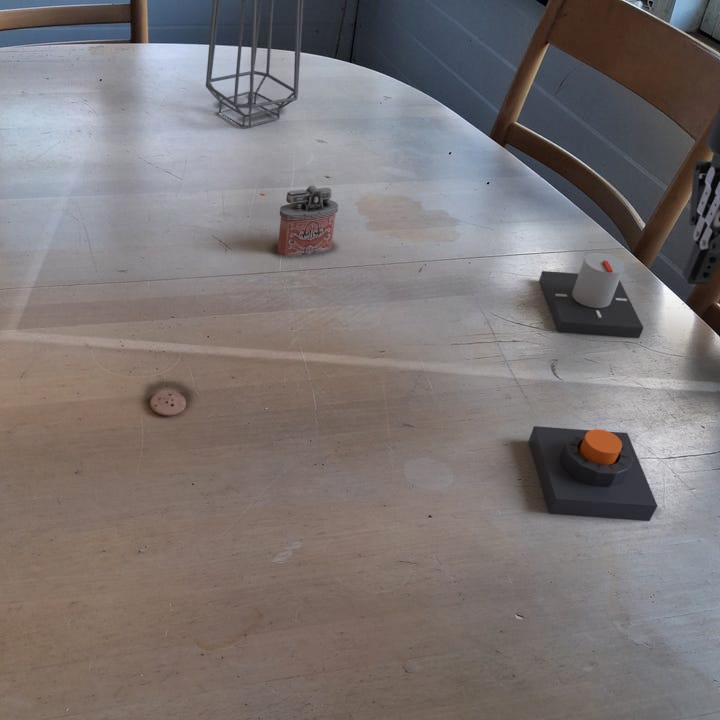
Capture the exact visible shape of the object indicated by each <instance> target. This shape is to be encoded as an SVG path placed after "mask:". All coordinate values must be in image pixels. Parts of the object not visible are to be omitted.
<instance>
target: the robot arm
mask: <svg viewBox="0 0 720 720" xmlns="http://www.w3.org/2000/svg"><path fill="white" fill-rule="evenodd" d="M706 146H707V147H708V149H709V151H711V153H712V157H711V159H710V160H696V162H695V163H694V165H693V172H692V183H691V184H692V185H691V195H690V210H689V226H692V227H693V226H694V227H695V228H694V231H693V235H692V238H693V240H694V241H695V242H694V244H693V246H692V248H691V252H690V254H689V256H688V259H687V261H686V263H685V265H684V268H683V271H682V276H683V277H684V279H685V280H686V282H687V284H689V285H696V286H697V285H698V286H700V285H701V286H704V285H705V286H706V285H708V284H709V283H710V282H711V281H712V279H713V278H714V277H713V276H714V274H715V272H716V269H717V268H718V266H719V263H720V105H719V106H718V108H717V111H716V114H715V116H714V119H713V122H712V124H711V126H710V129H709V132H708V134H707V137H706Z"/></svg>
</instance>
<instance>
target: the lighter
mask: <svg viewBox="0 0 720 720" xmlns="http://www.w3.org/2000/svg"><path fill="white" fill-rule="evenodd" d="M332 191H333V190H332V189H331V187H321V188H317V186H315V185H310V186H308V187H307V189H296V190H289V191H288V192H286V200H285V201H286V203H287V204H284V205H281V206H280V208H279V216H280V221H279V230H278V231H279V232H278V242H277V253H278V254H280V255H281V256H285V257H286V256H287V257H290V256H303V255H311V254H316V253H321V252H324V251H328V250H331V248H332V245H333V244H332V242H333V236H334V228H335V221H336V216H337V215H336V214H337V213H338V211H339V204H338V202H336V201H334V200H331V198H332V193H333V192H332Z"/></svg>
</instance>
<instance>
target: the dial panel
mask: <svg viewBox="0 0 720 720" xmlns="http://www.w3.org/2000/svg"><path fill="white" fill-rule="evenodd" d="M578 275H579V273H574V272H561V271H551V270H550V271H549V270H547V271H546V270H542V271H541V274H540V277H539V279H538V283H539V285H540V288H541V291H542V293H543V296H544V299H545V301H546V305H547V307H548V309H549V311H550V315H551V317H552V320H553V323H554V325H555V328H556V331H557V333H559V334H561V333H562V334H574V335H590V336H601V337H602V336H603V337H617V338H629V339H640V337H641V335H642V333H643V330H644V326H643V324H642V322H641V320H640V318H639V316H638V314H637V311H636V310H635V307H634V306H633V304H632V302H631V299H630V297H629V296H628V293H627V292H626V290H625V288H624V285H623V284H622V282H621V279H620V280H619V283H618V285H617V288H616V290H615V293H614V295H613V298H612V300H611V303H610V305H608V306H607V307H604V308H592V307H587V306H584V305H582V304H580V303H578V302H577V301H576V300H575V299H574V298H573V297H572V291H573V289H574V286H575V283H576V280H577V277H578Z"/></svg>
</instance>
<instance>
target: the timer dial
mask: <svg viewBox="0 0 720 720" xmlns="http://www.w3.org/2000/svg"><path fill="white" fill-rule="evenodd" d="M581 263H582V264H581V267H580V269H579V272H578V274H579V275H578V277H577V280H576V283H575V286H574V289H573V291H572V297H573V298H574V299H575V300H576V301H577V302H578V303H580V304H582V305H584V306H587V307H592V308H604V307H607V306H608V305H610V303H611V300H612V298H613V295H614V293H615V290H616V288H617V285H618V283H619V280H620V281H621V278H622V275H623V272H624V270H625V264H624V262H623V261H622V260H621V259H620V258H618V257H616V256H614V255H611V254H608V253H604V252H591V253H588V254H586V255H585V256H584V258H583V261H582V262H581Z"/></svg>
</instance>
